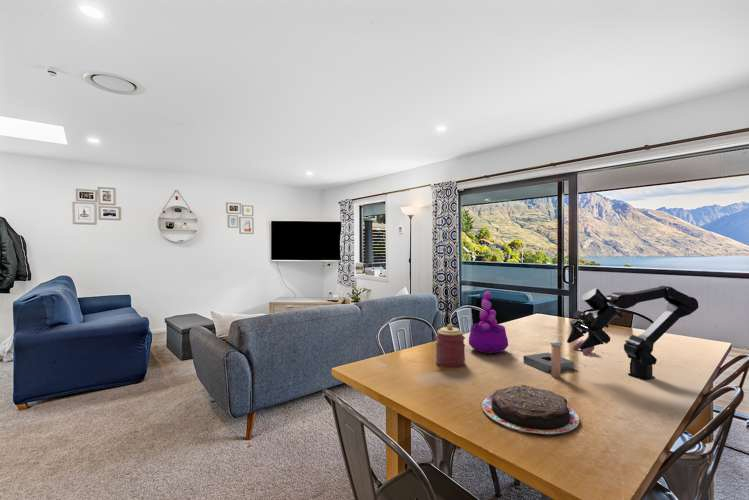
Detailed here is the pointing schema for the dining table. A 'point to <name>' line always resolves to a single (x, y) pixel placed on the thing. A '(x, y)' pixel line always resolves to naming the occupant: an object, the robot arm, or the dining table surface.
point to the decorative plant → (488, 330)
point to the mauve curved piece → (585, 351)
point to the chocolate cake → (530, 410)
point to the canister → (450, 347)
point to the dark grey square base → (546, 362)
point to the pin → (556, 358)
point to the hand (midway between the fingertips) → (573, 345)
